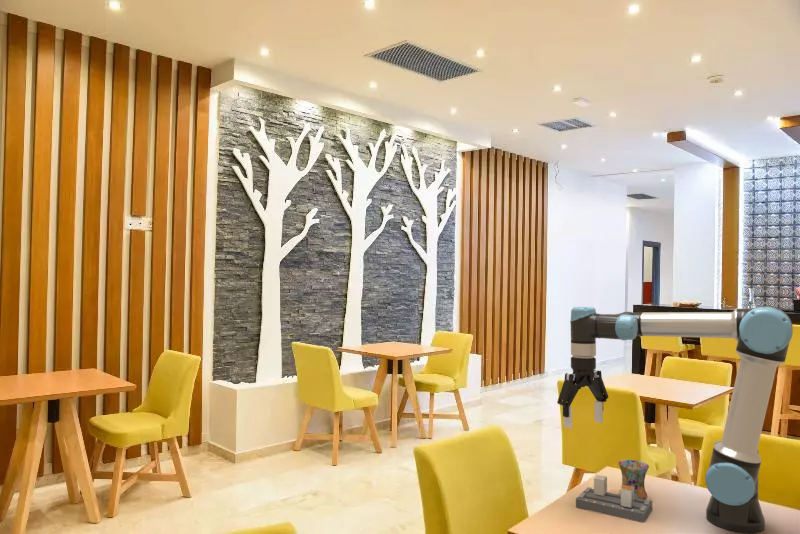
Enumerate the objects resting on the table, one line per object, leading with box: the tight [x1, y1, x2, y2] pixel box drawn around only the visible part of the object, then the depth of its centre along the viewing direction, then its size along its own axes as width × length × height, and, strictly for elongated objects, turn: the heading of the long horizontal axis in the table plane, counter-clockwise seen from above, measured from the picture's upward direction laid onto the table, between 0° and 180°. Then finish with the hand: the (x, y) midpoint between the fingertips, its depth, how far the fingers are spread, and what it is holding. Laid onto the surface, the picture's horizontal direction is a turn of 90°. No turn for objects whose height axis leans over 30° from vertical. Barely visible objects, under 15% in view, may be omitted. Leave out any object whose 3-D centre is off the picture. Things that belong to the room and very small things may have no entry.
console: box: [575, 474, 653, 523], centre depth 188 cm, size 20×12×8 cm, turn 57°
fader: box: [620, 484, 634, 508], centre depth 184 cm, size 3×4×6 cm
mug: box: [618, 459, 650, 500], centre depth 200 cm, size 12×9×11 cm
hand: (583, 424), depth 190 cm, fingers open, 13 cm apart
